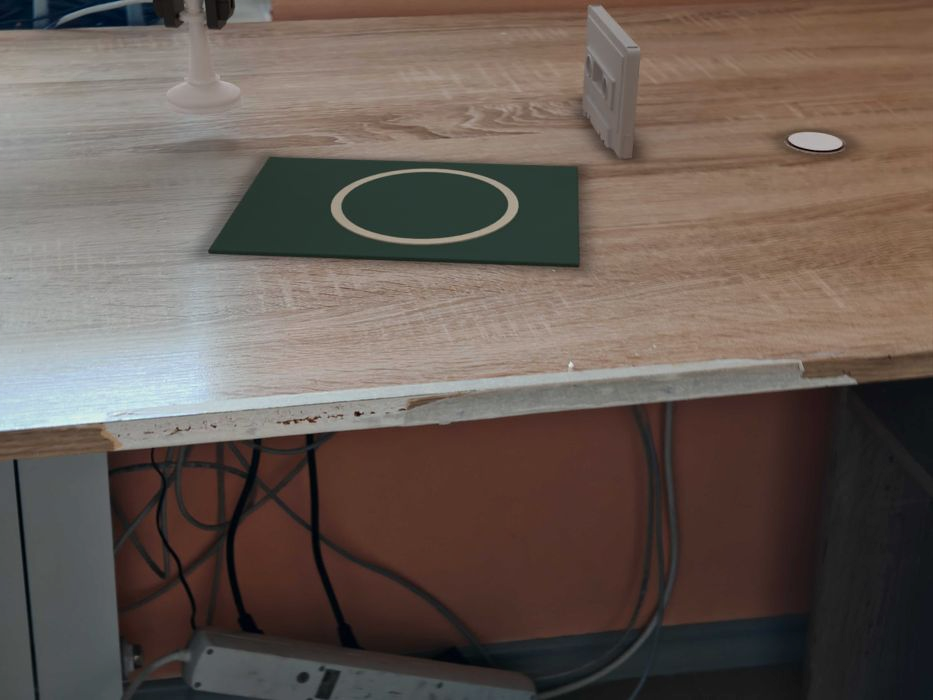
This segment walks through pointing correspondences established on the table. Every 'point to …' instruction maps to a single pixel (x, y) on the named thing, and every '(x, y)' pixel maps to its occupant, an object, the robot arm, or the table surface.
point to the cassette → (610, 81)
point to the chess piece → (201, 73)
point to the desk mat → (408, 212)
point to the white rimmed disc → (815, 142)
